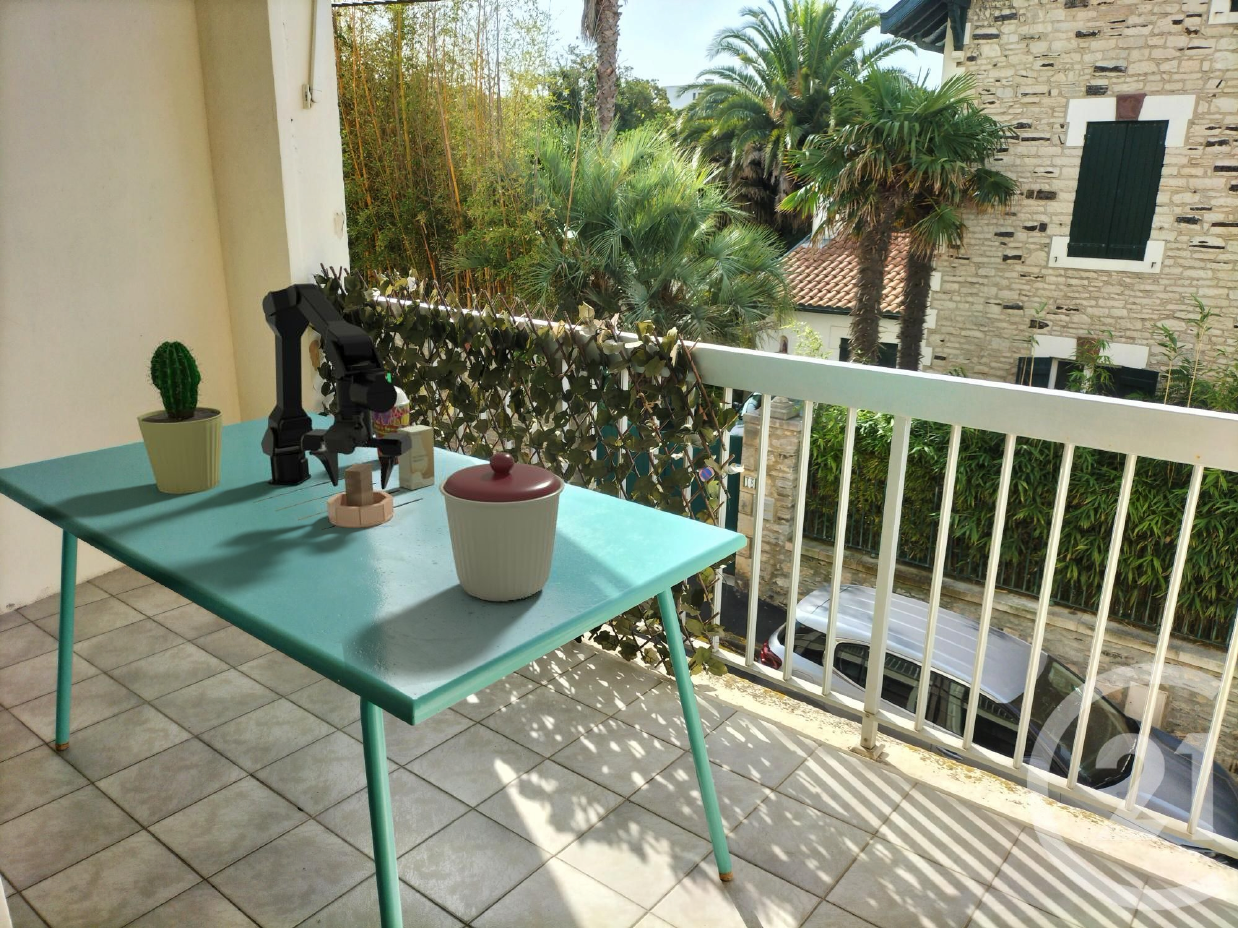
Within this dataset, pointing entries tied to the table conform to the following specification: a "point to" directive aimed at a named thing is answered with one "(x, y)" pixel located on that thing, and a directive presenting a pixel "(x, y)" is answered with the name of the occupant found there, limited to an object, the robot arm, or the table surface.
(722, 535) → the table surface
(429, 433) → the skincare box
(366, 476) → the tall tan cardboard carton
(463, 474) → the canister
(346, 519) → the peach octagonal dish
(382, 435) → the smoothie
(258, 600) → the table surface
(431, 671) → the table surface
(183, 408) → the potted cactus
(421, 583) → the table surface
